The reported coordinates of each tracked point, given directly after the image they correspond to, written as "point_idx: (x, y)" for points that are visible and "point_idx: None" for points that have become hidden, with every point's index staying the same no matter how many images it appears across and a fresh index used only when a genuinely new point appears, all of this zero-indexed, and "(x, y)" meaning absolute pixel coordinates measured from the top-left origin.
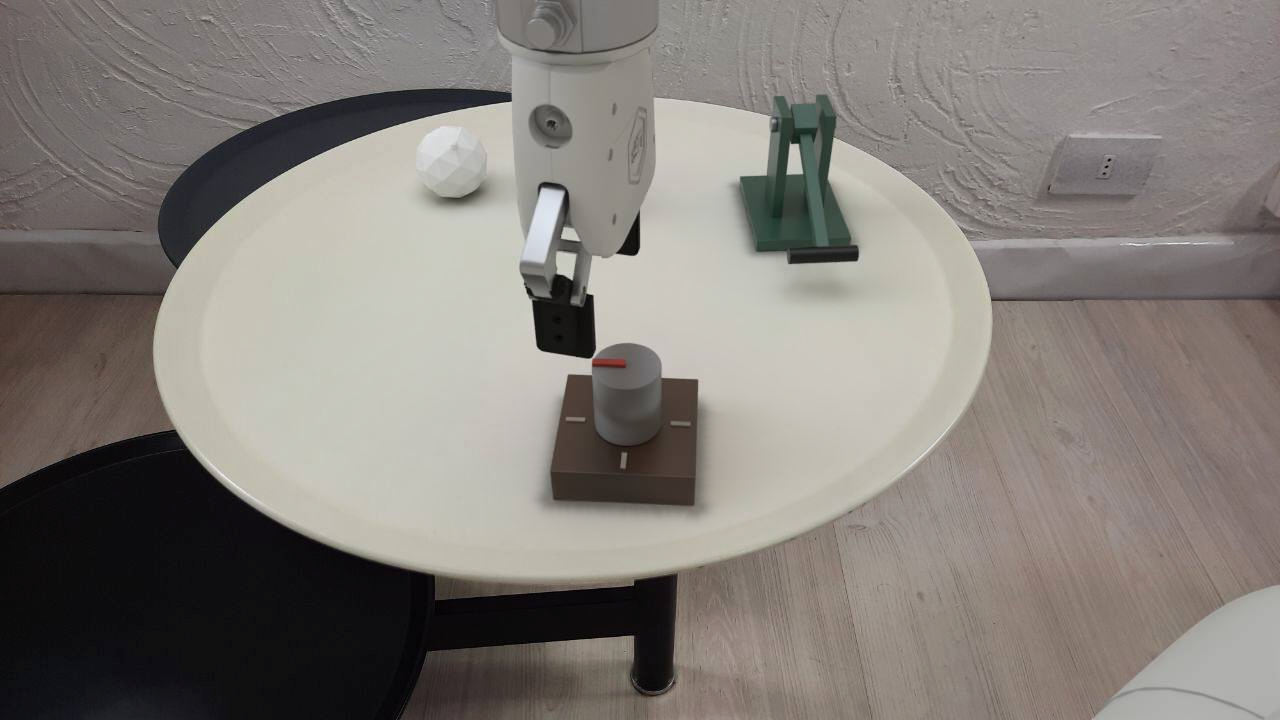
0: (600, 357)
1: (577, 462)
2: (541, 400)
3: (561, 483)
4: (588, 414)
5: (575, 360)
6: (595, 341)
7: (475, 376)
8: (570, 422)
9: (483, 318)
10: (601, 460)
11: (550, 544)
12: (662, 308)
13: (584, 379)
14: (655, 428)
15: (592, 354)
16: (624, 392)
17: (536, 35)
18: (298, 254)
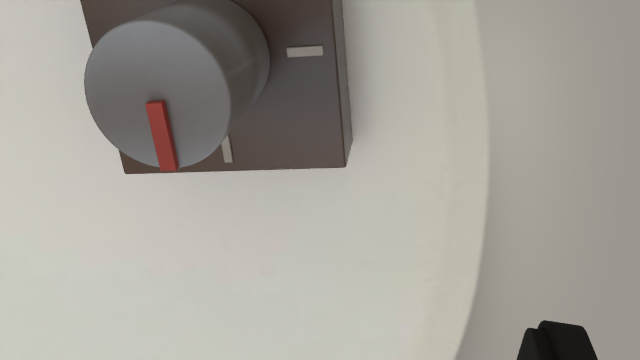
0: (148, 154)
1: (320, 128)
2: (159, 190)
3: (347, 141)
4: None
5: (60, 155)
6: (564, 354)
7: (139, 284)
8: (233, 153)
9: (23, 295)
10: (308, 89)
11: (437, 130)
12: None
13: None
14: (227, 4)
15: (584, 334)
16: (232, 90)
17: None
18: None
